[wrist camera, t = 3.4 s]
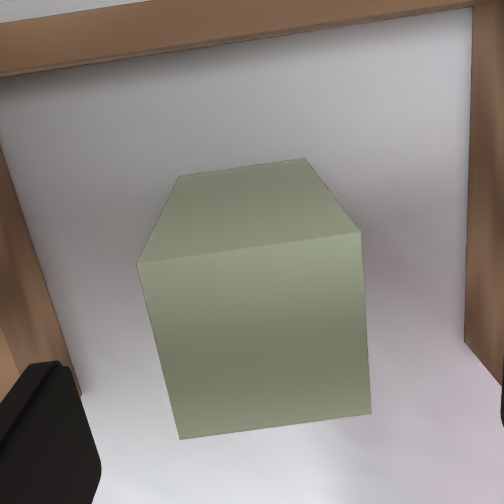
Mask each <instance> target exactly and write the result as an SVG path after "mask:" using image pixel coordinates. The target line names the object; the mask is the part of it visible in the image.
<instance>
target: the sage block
mask: <svg viewBox="0 0 504 504" xmlns="http://www.w3.org/2000/svg"><path fill="white" fill-rule="evenodd" d="M136 265H137V269H138V273H139V277H140V281H141V286H142V290H143V294H144V298H145V302H146V306H147V310H148V314H149V318H150V322H151V326H152V330H153V334H154V338H155V342H156V346H157V350H158V354H159V358H160V362H161V366H162V370H163V374H164V378H165V382H166V386H167V390H168V394H169V398H170V402H171V407H172V411H173V415H174V419H175V423H176V427H177V431H178V435H179V439H180V440H182V439H190V438H197V437H205V436H212V435H219V434H227V433H234V432H241V431H249V430H256V429H263V428H271V427H278V426H285V425H293V424H300V423H308V422H315V421H322V420H330V419H337V418H344V417H352V416H359V415H366V414H372V413H371V396H370V379H369V362H368V345H367V328H366V311H365V294H364V278H363V261H362V244H361V232H360V230H359V229H358V228H357V226H356V225H355V224H354V222H353V221H352V220H351V218H350V217H349V216H348V214H347V213H346V212H345V210H344V209H343V208H342V206H341V205H340V204H339V203H338V201H337V200H336V199H335V197H334V196H333V195H332V193H331V192H330V191H329V189H328V188H327V187H326V185H325V184H324V183H323V181H322V180H321V179H320V177H319V176H318V175H317V174H316V172H315V171H314V170H313V168H312V167H311V166H310V164H309V163H308V162H307V160H306V159H305V158H301V159H294V160H287V161H280V162H273V163H266V164H259V165H253V166H246V167H239V168H232V169H225V170H218V171H211V172H205V173H198V174H191V175H184V176H179V178H178V180H177V182H176V184H175V186H174V188H173V190H172V192H171V194H170V196H169V198H168V200H167V202H166V204H165V206H164V208H163V210H162V212H161V215H160V217H159V219H158V221H157V223H156V225H155V227H154V229H153V231H152V233H151V235H150V237H149V239H148V241H147V243H146V245H145V247H144V249H143V251H142V253H141V255H140V257H139V259H138V261H137V263H136Z"/></svg>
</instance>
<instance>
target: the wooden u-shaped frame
mask: <svg viewBox="0 0 504 504" xmlns="http://www.w3.org/2000/svg"><path fill="white" fill-rule="evenodd" d="M466 7H473V42H472V78H471V114H470V150H469V186H468V222H467V258H466V294H465V330H464V342H465V343H466V344H467V345H468V347H469V348H470V349H471V350H472V352H473V353H474V354H475V355H476V356H477V358H478V359H479V360H480V361H481V362H482V364H483V365H484V366H485V367H486V368H487V370H488V371H489V372H490V373H491V374H492V376H493V377H494V378H495V379H496V380H497V382H498V383H499V384H500V385H501V386H502V377H503V359H504V0H150V1H144V2H137V3H131V4H124V5H118V6H111V7H105V8H98V9H92V10H85V11H78V12H72V13H65V14H59V15H52V16H46V17H39V18H33V19H26V20H20V21H13V22H6V23H0V78H2V77H8V76H15V75H22V74H28V73H35V72H42V71H48V70H55V69H62V68H68V67H75V66H81V65H88V64H95V63H101V62H108V61H115V60H121V59H128V58H134V57H141V56H148V55H154V54H161V53H168V52H174V51H181V50H188V49H194V48H201V47H207V46H214V45H221V44H227V43H234V42H241V41H247V40H254V39H261V38H267V37H274V36H280V35H287V34H294V33H300V32H307V31H314V30H320V29H327V28H334V27H340V26H347V25H353V24H360V23H367V22H373V21H380V20H387V19H393V18H400V17H406V16H413V15H420V14H426V13H433V12H440V11H446V10H453V9H460V8H466ZM55 360H58V361H60V362H61V364H62V365H63V366H68V367H69V368H70V369H71V371H72V374H73V377H74V380H75V384H76V387H77V390H78V393H79V396H80V397H81V395H82V393H81V390H80V387H79V384H78V381H77V378H76V375H75V372H74V369H73V366H72V363H71V360H70V357H69V354H68V351H67V348H66V345H65V342H64V339H63V336H62V333H61V329H60V326H59V323H58V320H57V317H56V314H55V311H54V308H53V305H52V302H51V299H50V296H49V293H48V290H47V287H46V284H45V281H44V278H43V275H42V272H41V269H40V266H39V263H38V260H37V257H36V254H35V251H34V248H33V244H32V241H31V238H30V235H29V232H28V229H27V226H26V223H25V220H24V217H23V214H22V211H21V208H20V205H19V202H18V199H17V196H16V193H15V190H14V187H13V184H12V181H11V178H10V175H9V172H8V169H7V166H6V163H5V160H4V156H3V153H2V150H1V147H0V403H1V401H2V400H3V399H4V397H5V396H6V395H7V393H8V392H9V391H10V389H11V388H12V387H13V385H14V384H15V382H16V381H17V380H18V378H19V377H20V376H21V374H22V373H23V372H24V370H25V369H26V368H27V366H28V365H29V364H32V363H39V362H47V361H55Z"/></svg>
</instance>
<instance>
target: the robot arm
mask: <svg viewBox="0 0 504 504" xmlns="http://www.w3.org/2000/svg"><path fill="white" fill-rule="evenodd" d="M501 420H502V424H503V426H504V359H503V377H502V395H501ZM100 478H101V461H100V458H99V455H98V451H97V448H96V445H95V442H94V439H93V436H92V433H91V430H90V427H89V424H88V421H87V417H86V414H85V411H84V408H83V405H82V402H81V399H80V396H79V393H78V390H77V387H76V384H75V380H74V377H73V374H72V371H71V369H70V368H69V367H68V366H63V365H62V364H61V362H60V361H58V360H55V361H47V362H39V363H32V364H29V365H28V366H27V368H26V369H25V370H24V372H23V373H22V374H21V376H20V377H19V378H18V380H17V381H16V382H15V384H14V385H13V387H12V388H11V389H10V391H9V392H8V393H7V395H6V396H5V397H4V399H3V400H2V401H1V403H0V504H92V501H93V498H94V495H95V493H96V490H97V487H98V484H99V481H100Z"/></svg>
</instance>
